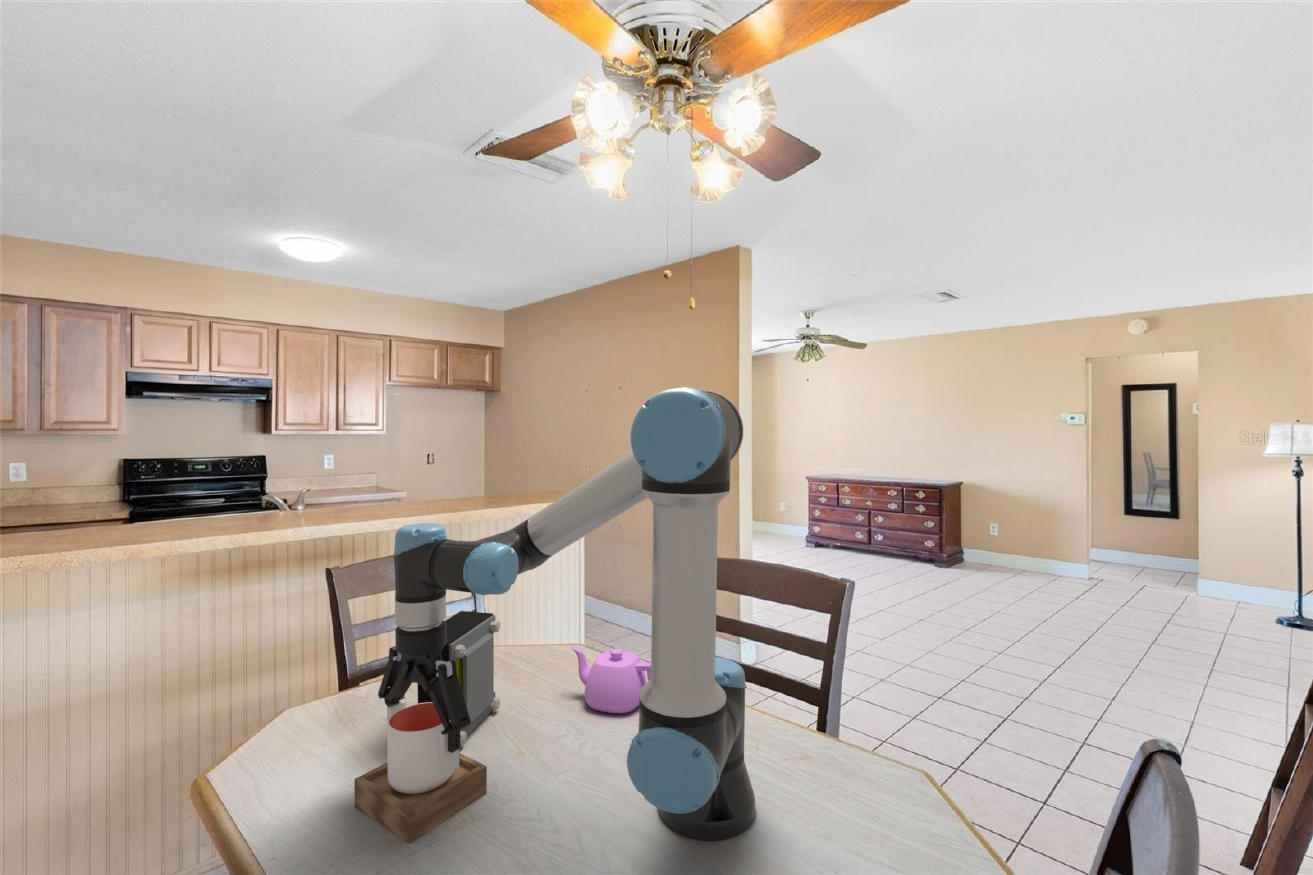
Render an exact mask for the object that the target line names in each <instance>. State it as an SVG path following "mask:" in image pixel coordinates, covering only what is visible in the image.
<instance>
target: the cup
mask: <svg viewBox="0 0 1313 875" xmlns="http://www.w3.org/2000/svg"><path fill="white" fill-rule="evenodd" d="M386 729H387V730H386V738H387V740H386V743H387V744H386V745H387V747H386V748H387V752H386V753H387V762H388V782H389V784H390V786H391V787H392V788H393V789H394V790H396V791H398V792H401V793H405V794H419V793H424V792H428V791H431V790H434V789H436V788H438V787H440V786H441V785H443V784H444V783H445V782H447V781H448V780H449V779H450V777H451V776H452V774H453V773H454V770H453V771H451V772H449V773H448V774H446V775H443V774H441V731H442V730H444V727H443V724H442V722H441V720H440V718H439V716H438V713H437V711H436V709H435V707H434V704H433V702H427V703H420V704H418V703H416V704H411V705H408V706H406V707H405V708H403V709H401V710H399V711H397V712H396V713H394V714H393V715H392V716H391V717H390V718H389V719H388V718H387V723H386Z"/></svg>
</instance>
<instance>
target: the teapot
mask: <svg viewBox="0 0 1313 875" xmlns="http://www.w3.org/2000/svg"><path fill="white" fill-rule="evenodd" d="M570 649H571V650H572V651H573V652H574V653H575V654H576V657H577V661H578V662H577V663H578V676H579V679H580V681H581V683H582V684H583V685H584V699H585V701H586V703H587V705H588V706H589V707H590V708H591V709H592V710H595V711H597V712H598V711H599V712H604V713H610V714H618V715H619V714H628V713H629V712H632V711H634V710H635V709H637V708H639V695H640V690H641V688H642V687H643V686H644V685H645V684H646V683H647V682H648V681H649V680H650V679H651V662H641V659H639V656H638V655H637V654H636V653H635V652H630V651H625V650H622V649H620V648H613V649H611V650H608V651H605V652H602V653H600V654H599V655H598V656H597V657H596V658H595V660H594V662H593V664H592V665H591V668H590V667H589V666H588V663H587V659H586V655H585V653H584V651H583V650H582V649H581V648H579V647H576V646H571V648H570ZM645 672H646V673H645Z"/></svg>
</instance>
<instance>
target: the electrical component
mask: <svg viewBox="0 0 1313 875" xmlns="http://www.w3.org/2000/svg"><path fill="white" fill-rule="evenodd" d="M444 621H445V622H446V624H447V643H446V645H445V646H444V648H443V649H442V651H441V657H442V660H443V661H444V662H448V661H451V660H454V661H455V662H456V670H457V677H458V680H459V684H460V687H461V690H462V694H463V697H464V700H465V704H466V707H467V710H468V714H469V717H470V720H471V724H470V725H469V726H467V727H465V728H463V729H461V730H460V746H463V745H464V744H465V743H466V741H467V738H468V737H469V735H470V734H471V733H473V731H474V730H475V729H476V728H478V726H479V725H480V724H481V723H482V722H483V721H484V720H485V719H486V718H487V717H488V716H489V715H490V714H491V713H492V712H493V711H494V710H495V711H498V710H499V708H500V706H501V699H500V698H499V697H496V691H495V690H494V688H495V687H494V685H495V681H494V678H495V676H494V675H495V674H494V667H495V666H494V665H495V663H494V660H495V659H494V658H495V657H494V655H495V654H494V653H495V652H494V648H495V647H494V645H495V644H494V643H495V642H494V640H495V639H494V637H495V636H494V633H498V632H499V631H500V629H501V622H500V621H498V620H496V615H495V614H494V612H493V613H492V612H479V611H470V610H469V611H467V610H460V611H458V612H457V613H456V614H453V615H452V616H451V617H449V618H446V619H445V620H444ZM436 681H438V678H436V680H435V681H434V682H436ZM434 682H432V683H434ZM427 702H432V700H431V698H430V695H429V693H427V692H425V691H424V689H423V687H422V686H420V685H419V684H417V704H420V703H427Z"/></svg>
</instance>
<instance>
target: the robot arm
mask: <svg viewBox="0 0 1313 875" xmlns="http://www.w3.org/2000/svg"><path fill="white" fill-rule="evenodd" d="M743 438H744V425H743V419H742V417H741V414H740V412H739V410H738V409H737V408H736V406H735V405H734V404H733V403H732V401H730V400H729V399H728V398H726V397H724V395H721V394H720V393H716V392H713V391H705V390H701V389H699V388H696V387H686V386H683V387H677V388H676V387H675V388H669V389H665V390H663V391H660V392H658V393H656V394H654V395H652V396H651V397H650V398H648V399H647V400H646V401H645V402H644V403H643V405H641V406H640V408H639V409H638V411H637V413H636V415H635V416H634V418H633V422H632V423H631V430H630V445H631V452H630V453H628V454H626V455H625V456H623V457H622V458H620V459H619V460H617V461H615V462H614V463H613V464H611V465H609V466H608V467H607V468H605V469H602V471H600V472H598V473H597V474H595V475H594V476H593V477H591V478H589V479H587V480H586V481H585V482H583V483H581V484H580V485H579V486H577V487H575V488H574V489H572V490H570V491H569V492H568V493H566V494H565V495H563V496H561V497H560V498H558V499H556V500H555V501H553V502H552V503H551V504H548V506H546V507H544V508H542V509H541V510H539V511H538V512H536V513H535V514H533V515H532V516H530V517H529V518H527V519H526V520H524V521H522V522H521V523H519V524H517V525H515V527H513V528H511V529H509V530H506V531H503V532H501V533H496V534H494V535H490V536H487V537H484V538H480V539H478V540H473V541H472V540H471V541H470V540H454V539H448V538H447V537H448V536H447V534H446V533H447V531H446V527H445V526H444V525H443V524H440V523H434V522H431V523H430V522H427V523H426V522H425V523H424V522H423V523H413V524H412V523H411V524H407V525H403V526H401V527H400V528H398V529H397V530H396V532H395V535H394V548H393V549H394V550H393V554H392V555H393V561H394V563H393V564H394V583H395V584H394V586H395V588H394V591H395V592H394V595H395V596H394V597H395V598H394V624H395V625H396V628H395V638H394V639H395V645H394V646H392V647H389V649H388V661H387V665H386V667H385V670H384V674H383V677H382V680H381V683H380V686H379V690H378V693H377V696H378V698H379V699H381V700H382V699H384V704H385V705H386V708H387V710H386V711H387V713H386V714H387V717H386V718H387V720H388V719H389V718H390V717H391V716H392V715H393V714H394V713H396V712H397V711H399V710H401V709H403V708H405V707H407V706H406V705H407V704H406V703H407V702H406V701H405V700H404V699H406V696H405V695H406V693H407V692H408V690H409V689H410V688H411V685H412V684H413V683H415V684H416V683H417V685H418V684H419V685H420V686H422V687H423V689H424V691H425V692H427V693H429V695H430V698H431V700H432V702H433V704H434V707H435V709H436V711H437V713H438V716H439V718H440V720H441V722H442V724H443V727H444V730H442V731H441V774H443V775H446V774H448V773H449V772H451V771H453V770H455V769H456V768H458V767H459V753H460V748H461V745H460V730H461V729H463V728H465V727H467V726H469V725H470V724H471V720H470V717H469V714H468V710H467V707H466V704H465V700H464V697H463V694H462V690H461V687H460V684H459V680H458V677H457V670H456V662H455V661H454V660H451V661H448V662H444V661H443V660H442V657H441V651H442V649H443V648H444V646H445V645H446V643H447V624H446V622H445V620H447V596H446V595H447V591H454V592H463V593H471V594H476V595H481V596H488V595H493V596H495V595H496V596H498V595H504V594H506V593H507V592H508V591H510V590H511V588H512V586H513V585H514V584H515V582H516V580H517V577H518V575H521V574H523V573H525V572H528V571H532V570H534V569H536V568H538V567H541V566H542V565H543V564H544V563H545V562H547V561H548V560H549V559H550V558H551V557H552V556H554V555H556V554H558V553H560V552H561V551H562V550H565V549H566V548H568V547H569V546H571V545H572V544H574V543H576V542H577V541H579V540H581V539H583V538H584V537H585V536H588V535H589V534H590V533H592V532H594V531H596V530H598V529H599V528H600V527H602V526H604V525H605V524H608V523H609V522H610V521H612V520H614V519H615V518H617V517H619V516H621V515H622V514H624V513H625V512H626V511H627V512H628V511H629V510H630V509H631V508H634V507H635V506H637V505H639V504H640V503H642V502H644V501H645V500H647V499H649V500H650V501H651V503H652V559H651V560H652V569H651V574H652V575H651V579H652V581H651V636H650V637H651V642H650V643H651V646H650V647H651V648H650V649H651V650H650V652H651V654H650V658H651V659H650V663H651V679H650V680H649V681H648V680H647V683H646V684H645V685H644V686H643V687H642V688H641V690H640V695H639V706H638V730H637V731H638V732H637V734H635V736H634V737H633V738H632V739H631V743H630V744H629V748H628V751H627V756H626V767H627V768H626V769H627V772H628V777H629V778H630V781H631V783H632V785H633V787H634V788H635V790H637V792H638V793H639V794H641V795H642V796H643V797H644V800H646V802H648V803H649V804H650V805H652V806H654V807H656V809H657V811H658V814H659V816H660V818H661V820H662V821H663V822H664V823H665V824H666V825H667V826H668V827H669V828H670V829H672V830H673V831H674V832H677V833H678V834H681V835H682V836H686V837H689V838H692V839H696V840H704V841H719V840H725V839H730V838H733V837H736V836H737V835H740V834H741V833H743V832H744V831H746V830H747V829H748V828H749V827H750V826H751V824H752V823H753V821H754V819H755V816H756V815H755V814H756V797H755V796H756V795H755V792H754V789H753V786H752V781H751V778H750V775H749V772H748V769H747V766H746V763H745V724H746V723H745V721H746V720H745V719H746V715H745V714H746V711H745V710H746V709H745V708H746V689H747V684H746V675H745V674H746V673H745V671H744V668H743V667H742V666H741V665H740V664H738V663H737V662H735V661H733V660H730V659H727V658H723V657H719V656H716V650H717V649H716V648H717V647H716V645H717V638H716V637H717V591H718V590H717V580H718V578H717V577H718V575H717V574H718V573H717V572H718V569H717V568H718V530H719V529H718V527H719V526H718V522H719V521H718V520H719V517H718V516H719V515H718V514H719V509H718V508H719V504H720V503H721V502H722V501H723V500H724V499H725V498H726V497H727V496H728V495H729V494H730V491H731V461H732V460H733V459H734V458H735V457H736V455H737V454H738V452H739V451H740V449H741V445H742V444H743V443H742V442H743ZM436 678H438V681H436V682H434V681H435V680H436ZM432 682H434V683H432Z"/></svg>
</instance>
